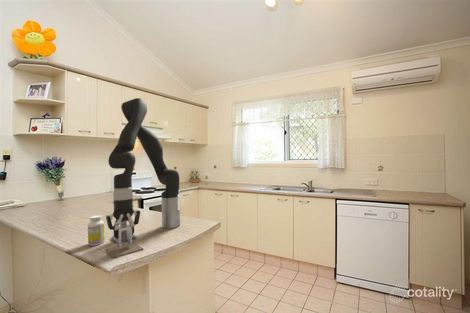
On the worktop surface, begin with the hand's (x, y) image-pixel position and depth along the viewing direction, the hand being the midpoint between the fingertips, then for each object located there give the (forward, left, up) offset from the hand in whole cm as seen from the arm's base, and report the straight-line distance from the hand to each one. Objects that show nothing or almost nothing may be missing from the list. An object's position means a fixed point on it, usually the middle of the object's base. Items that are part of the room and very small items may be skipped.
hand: (124, 236), depth 100 cm
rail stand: (-4, -12, -6) cm, 14 cm away
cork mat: (0, 0, -6) cm, 6 cm away
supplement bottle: (+7, -18, -6) cm, 20 cm away
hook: (0, 0, -4) cm, 4 cm away
